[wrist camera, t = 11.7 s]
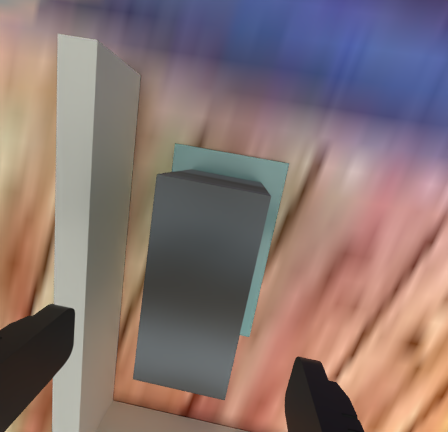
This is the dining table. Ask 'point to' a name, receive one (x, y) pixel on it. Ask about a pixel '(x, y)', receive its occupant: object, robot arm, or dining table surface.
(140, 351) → the bar
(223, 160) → the pad
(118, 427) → the arena
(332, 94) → the dining table surface
